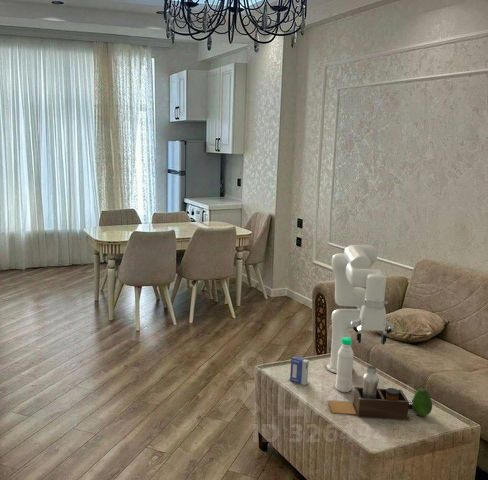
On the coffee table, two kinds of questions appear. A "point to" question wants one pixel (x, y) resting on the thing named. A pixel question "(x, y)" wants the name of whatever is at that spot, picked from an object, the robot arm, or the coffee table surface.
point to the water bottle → (344, 366)
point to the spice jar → (392, 394)
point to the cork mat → (342, 407)
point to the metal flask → (370, 383)
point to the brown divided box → (380, 405)
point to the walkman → (299, 370)
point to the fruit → (422, 402)
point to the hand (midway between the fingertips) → (370, 342)
